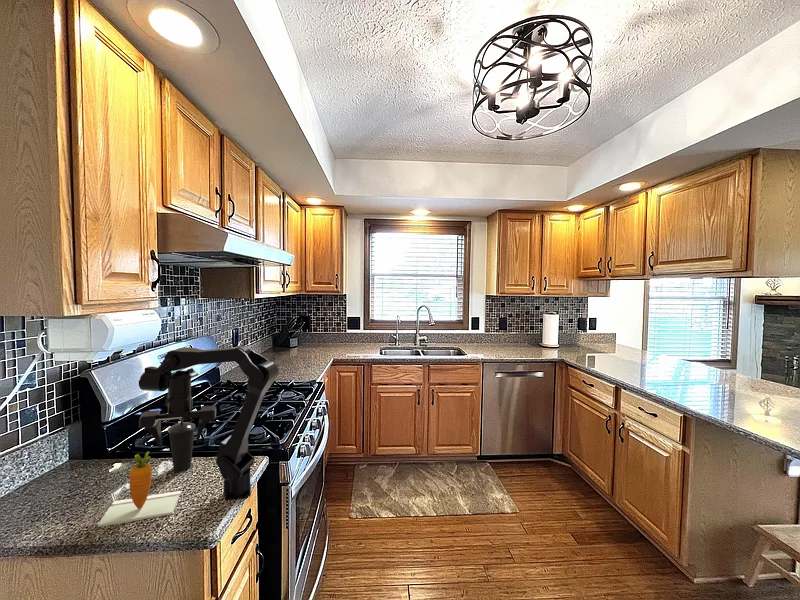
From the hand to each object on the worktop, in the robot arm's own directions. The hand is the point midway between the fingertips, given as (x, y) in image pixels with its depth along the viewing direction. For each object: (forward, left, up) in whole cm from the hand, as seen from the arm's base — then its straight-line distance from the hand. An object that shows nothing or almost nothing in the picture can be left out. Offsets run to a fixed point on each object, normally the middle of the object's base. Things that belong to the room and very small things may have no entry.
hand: (179, 445), depth 107 cm
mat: (+7, +9, -13) cm, 17 cm away
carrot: (+8, +8, -13) cm, 17 cm away
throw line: (+7, +3, -13) cm, 15 cm away
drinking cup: (+2, -13, -13) cm, 19 cm away
